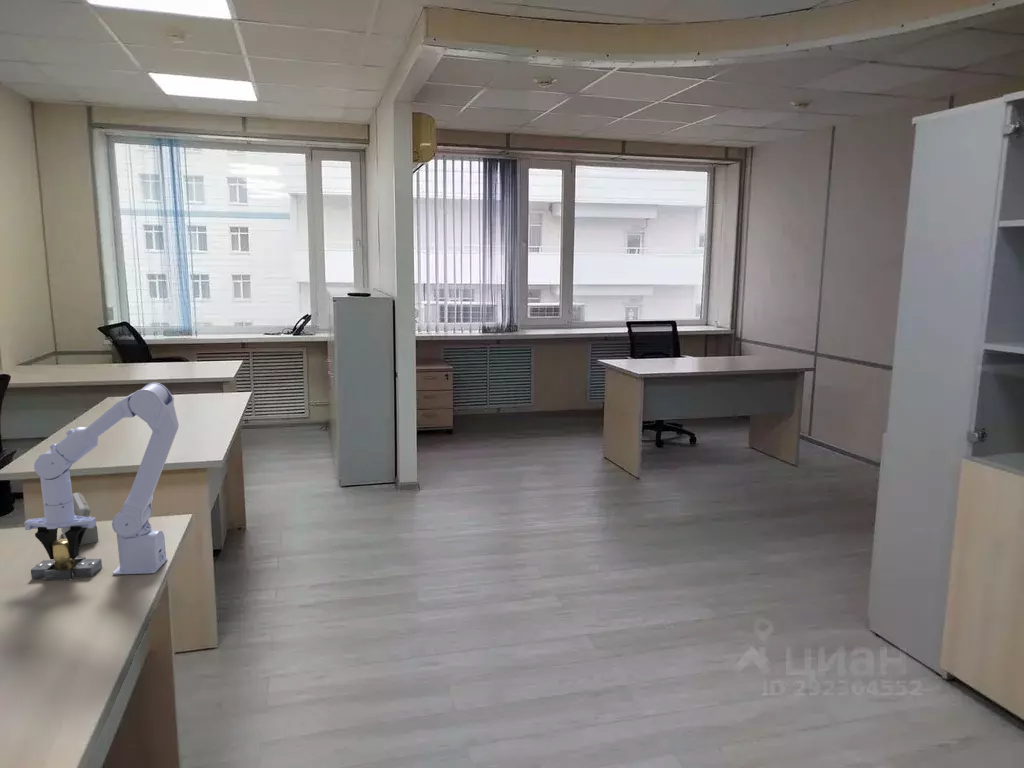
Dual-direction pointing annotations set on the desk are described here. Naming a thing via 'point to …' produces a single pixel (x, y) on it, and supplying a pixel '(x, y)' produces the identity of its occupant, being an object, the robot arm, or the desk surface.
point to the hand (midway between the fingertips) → (64, 557)
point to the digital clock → (84, 511)
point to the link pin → (62, 555)
